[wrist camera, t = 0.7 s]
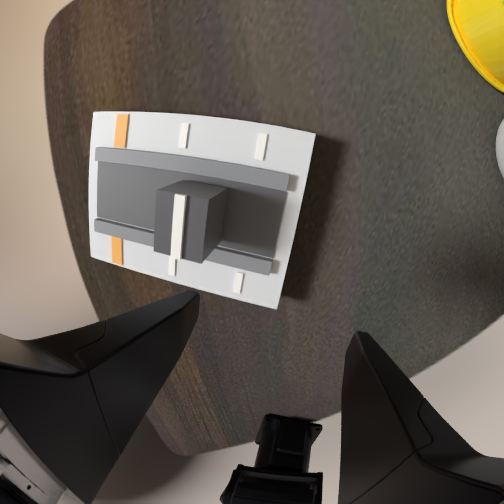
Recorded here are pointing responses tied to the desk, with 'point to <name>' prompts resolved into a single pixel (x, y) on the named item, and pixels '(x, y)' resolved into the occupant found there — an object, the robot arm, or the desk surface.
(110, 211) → the console board
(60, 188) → the desk surface
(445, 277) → the desk surface
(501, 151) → the cup
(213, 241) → the fader knob
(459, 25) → the stacking cups
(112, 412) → the robot arm
